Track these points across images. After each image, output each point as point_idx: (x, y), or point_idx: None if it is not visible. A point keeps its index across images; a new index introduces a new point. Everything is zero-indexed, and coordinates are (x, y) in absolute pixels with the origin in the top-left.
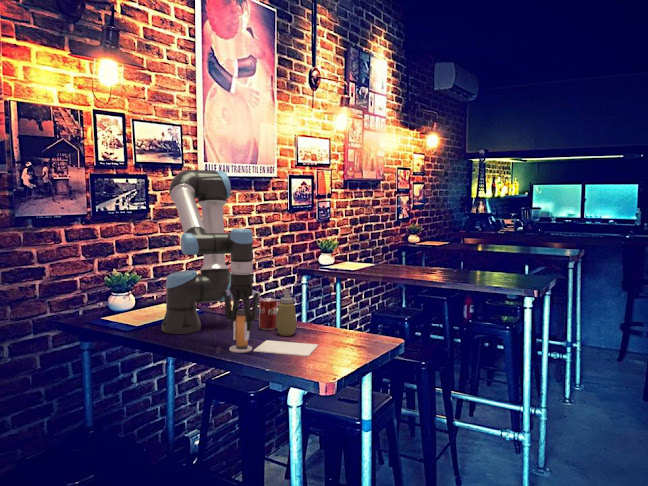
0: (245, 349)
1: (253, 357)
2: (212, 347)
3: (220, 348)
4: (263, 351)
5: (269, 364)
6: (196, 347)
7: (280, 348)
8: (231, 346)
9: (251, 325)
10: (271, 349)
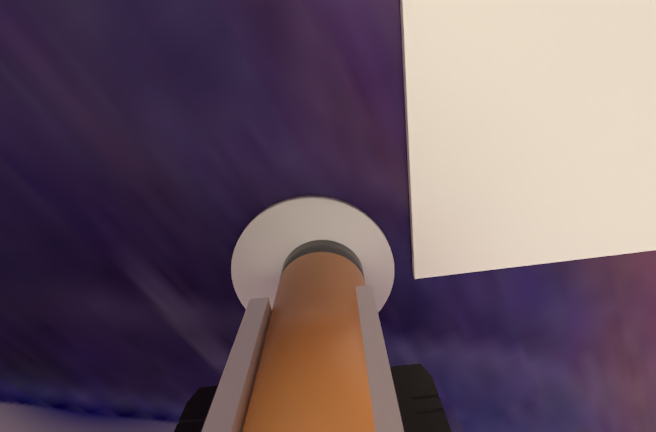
0: None
1: (460, 363)
2: (118, 301)
3: (179, 299)
4: (490, 269)
5: (579, 416)
6: (37, 338)
7: (604, 158)
8: (235, 276)
9: (445, 420)
10: (537, 212)
